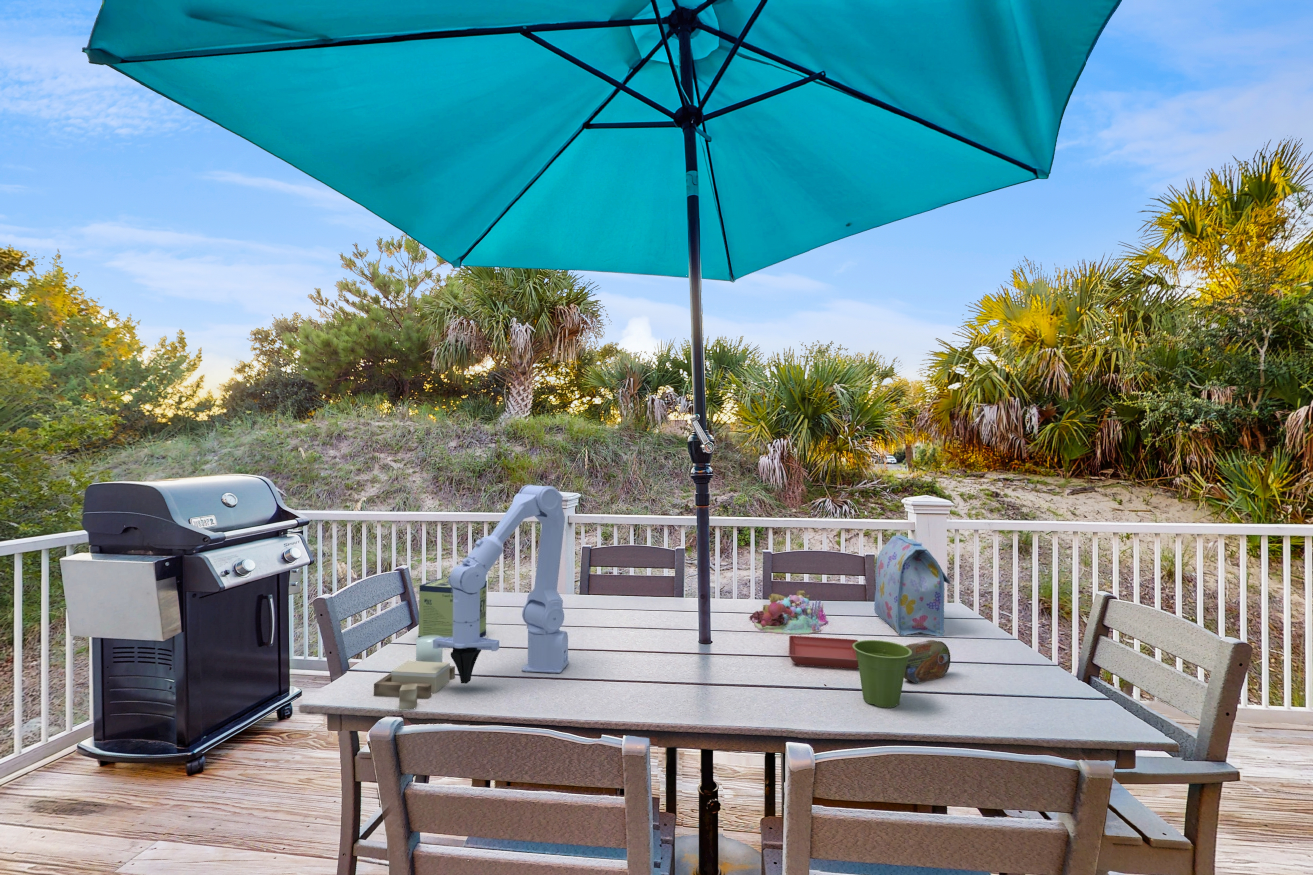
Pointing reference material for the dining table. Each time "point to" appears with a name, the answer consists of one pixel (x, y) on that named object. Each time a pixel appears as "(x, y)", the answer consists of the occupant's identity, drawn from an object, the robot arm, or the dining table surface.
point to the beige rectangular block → (423, 673)
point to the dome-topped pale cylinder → (427, 649)
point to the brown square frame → (393, 688)
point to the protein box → (443, 609)
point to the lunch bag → (910, 588)
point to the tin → (927, 661)
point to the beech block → (408, 696)
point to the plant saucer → (823, 652)
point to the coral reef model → (790, 615)
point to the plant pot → (881, 670)
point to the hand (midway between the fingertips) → (465, 681)
